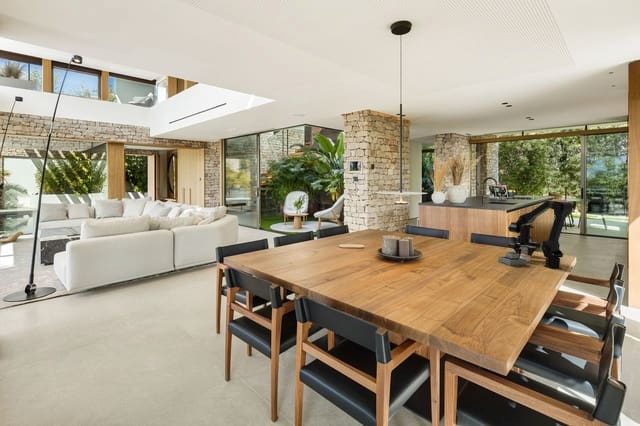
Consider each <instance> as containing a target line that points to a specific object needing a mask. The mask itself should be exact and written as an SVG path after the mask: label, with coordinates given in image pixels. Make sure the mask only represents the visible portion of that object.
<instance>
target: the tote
mask: <svg viewBox="0 0 640 426" xmlns="http://www.w3.org/2000/svg"><path fill="white" fill-rule="evenodd" d="M498 263H500V264H503V265H506V266H508V267H523V266H527V261H526V260H525V259H522V258H519V260H509V259H506V255H501V256H500V255H499V256H498Z"/></svg>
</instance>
